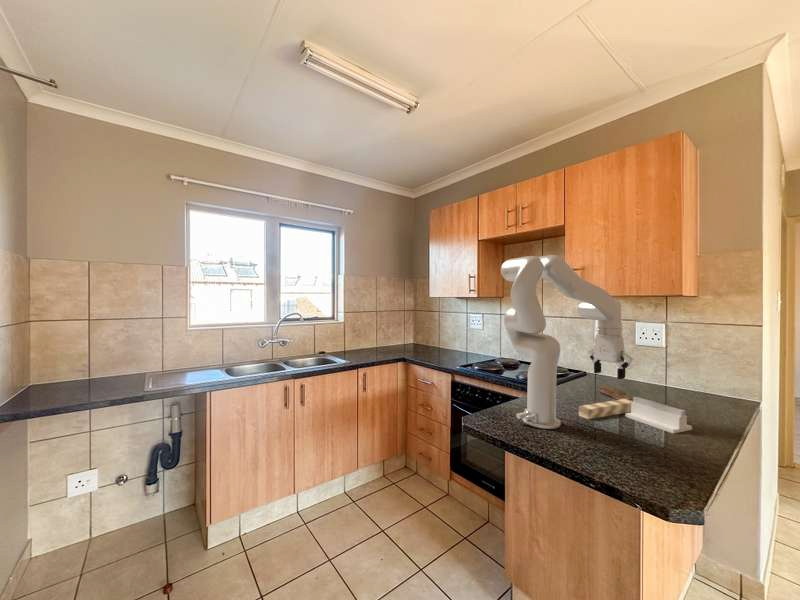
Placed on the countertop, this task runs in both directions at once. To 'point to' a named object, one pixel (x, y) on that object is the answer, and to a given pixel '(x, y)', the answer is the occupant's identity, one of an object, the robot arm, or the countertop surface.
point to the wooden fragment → (614, 393)
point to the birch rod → (605, 408)
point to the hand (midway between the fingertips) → (608, 375)
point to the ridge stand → (658, 415)
